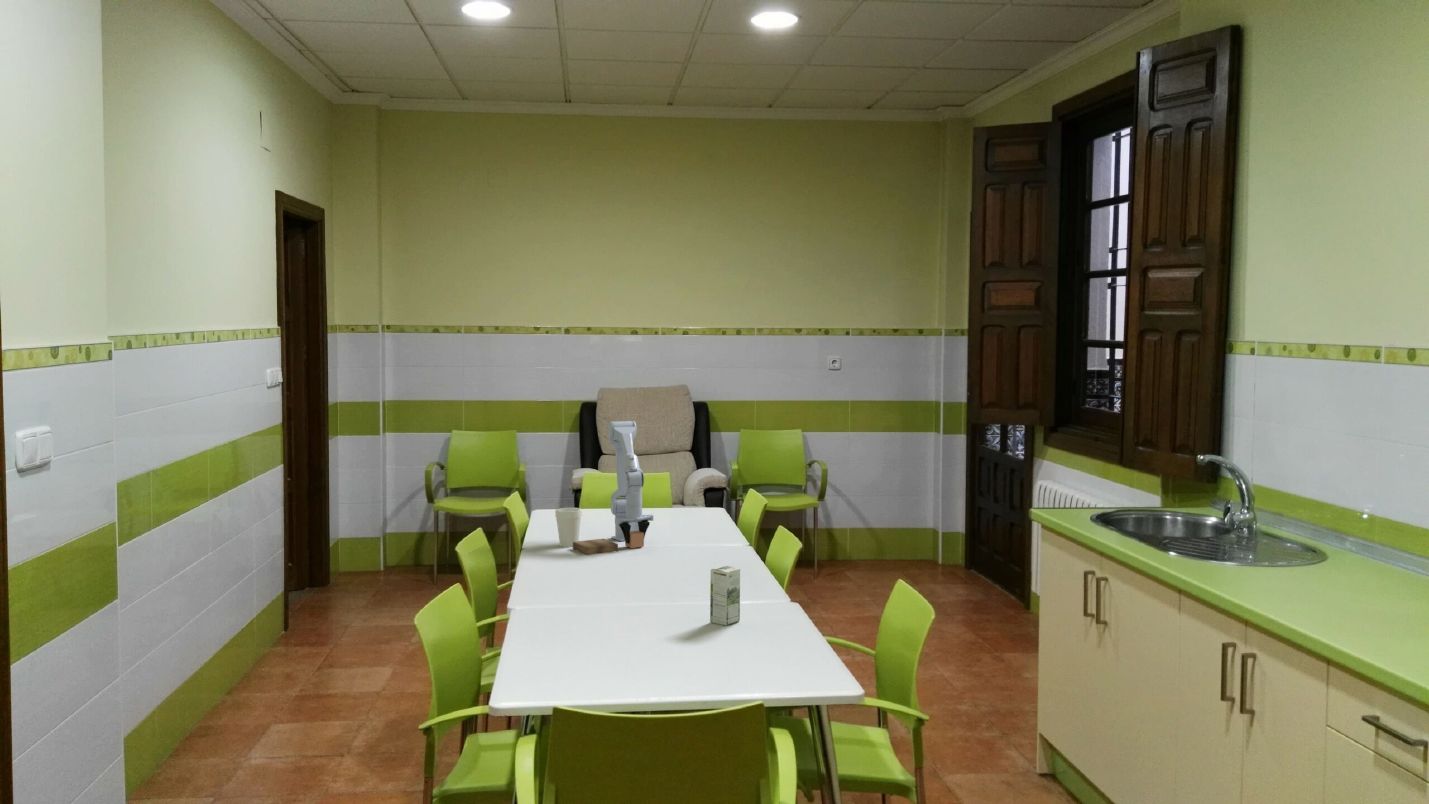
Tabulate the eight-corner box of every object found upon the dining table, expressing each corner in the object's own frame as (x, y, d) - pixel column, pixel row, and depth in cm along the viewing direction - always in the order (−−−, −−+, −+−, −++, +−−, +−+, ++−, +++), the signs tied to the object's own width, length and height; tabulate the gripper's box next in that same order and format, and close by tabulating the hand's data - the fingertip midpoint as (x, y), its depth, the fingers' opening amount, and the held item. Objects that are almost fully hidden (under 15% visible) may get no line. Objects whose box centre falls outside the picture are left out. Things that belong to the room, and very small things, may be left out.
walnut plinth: (603, 546, 383) (603, 538, 383) (618, 552, 373) (617, 544, 373) (573, 550, 377) (572, 541, 377) (586, 556, 367) (586, 547, 367)
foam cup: (579, 547, 379) (579, 511, 378) (554, 547, 379) (553, 511, 378) (583, 542, 388) (583, 507, 388) (558, 542, 389) (558, 507, 388)
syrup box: (723, 617, 284) (723, 564, 283) (740, 621, 280) (740, 567, 279) (709, 622, 280) (709, 568, 279) (727, 626, 276) (726, 571, 275)
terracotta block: (637, 544, 383) (637, 530, 383) (643, 546, 379) (643, 532, 378) (625, 545, 380) (625, 531, 380) (631, 547, 376) (631, 534, 376)
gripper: (620, 507, 371) (621, 546, 372) (657, 504, 379) (657, 541, 380) (612, 505, 378) (612, 542, 378) (648, 501, 385) (648, 538, 386)
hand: (634, 542), depth 379 cm, fingers closed on terracotta block, 5 cm apart
